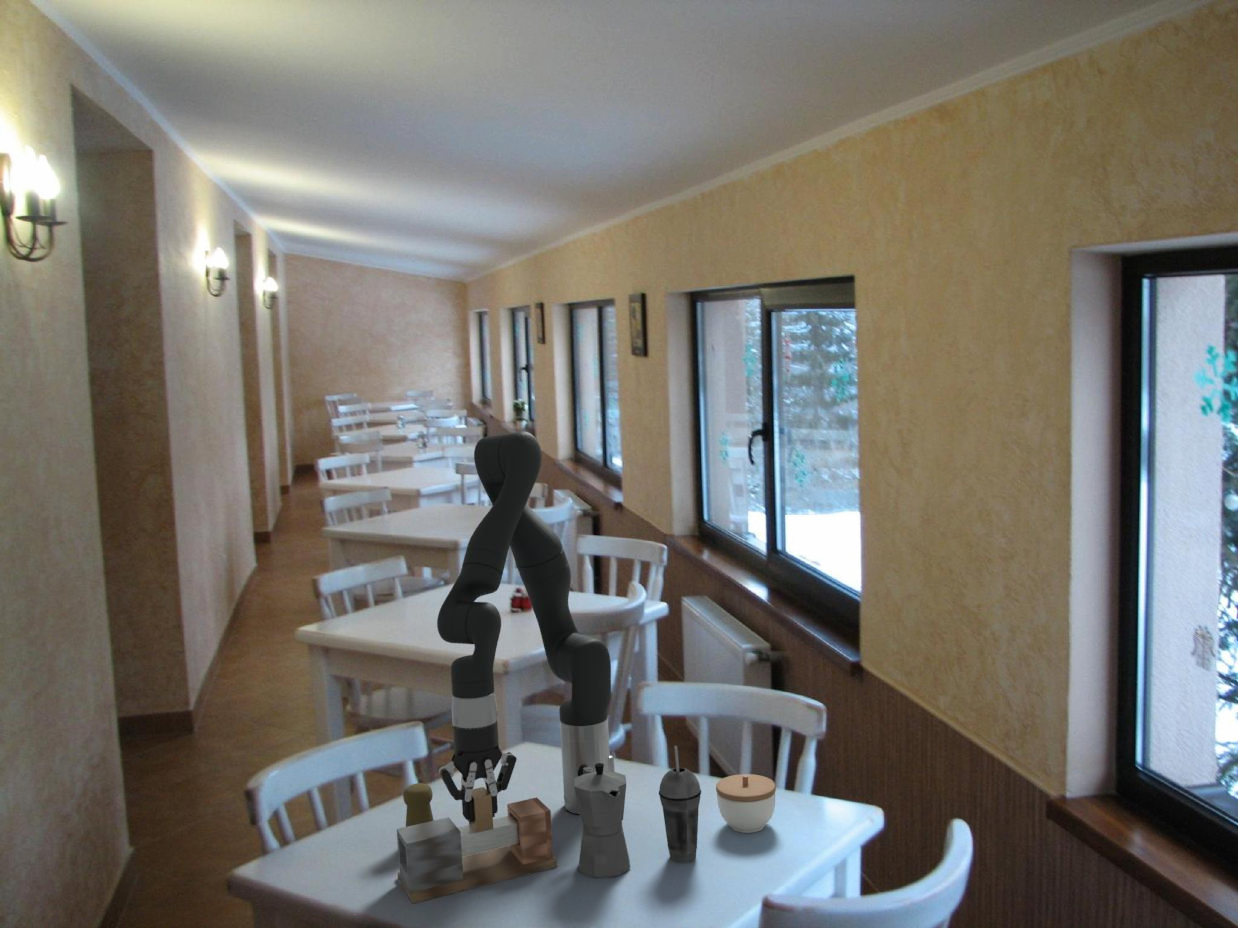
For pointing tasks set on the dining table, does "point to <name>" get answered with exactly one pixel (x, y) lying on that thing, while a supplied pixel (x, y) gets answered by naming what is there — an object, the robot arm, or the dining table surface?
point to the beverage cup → (680, 812)
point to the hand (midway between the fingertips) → (480, 817)
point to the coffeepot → (601, 821)
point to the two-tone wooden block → (487, 827)
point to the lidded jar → (746, 801)
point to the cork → (418, 804)
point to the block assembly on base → (442, 870)
